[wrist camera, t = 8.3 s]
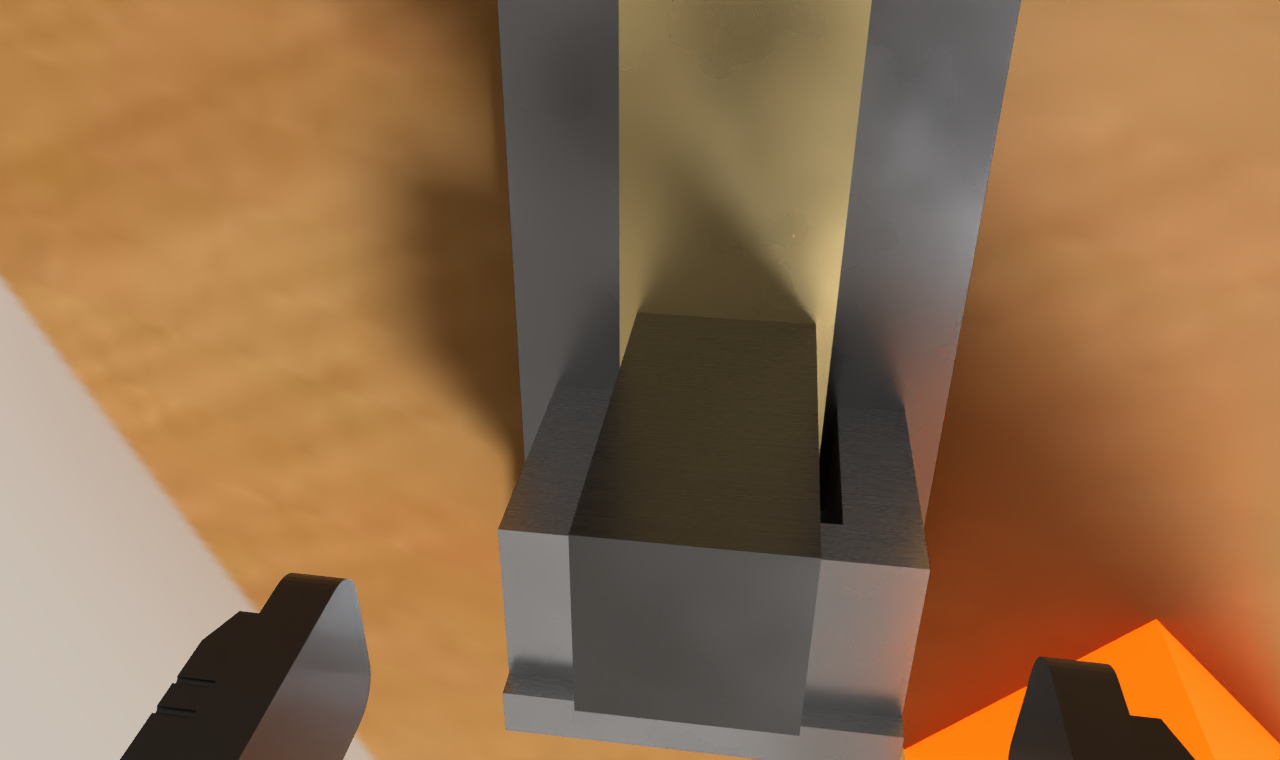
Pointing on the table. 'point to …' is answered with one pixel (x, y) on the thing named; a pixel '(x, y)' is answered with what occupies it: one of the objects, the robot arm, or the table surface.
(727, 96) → the block
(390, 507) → the table surface
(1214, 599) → the table surface
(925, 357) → the rail
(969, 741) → the orange juice
